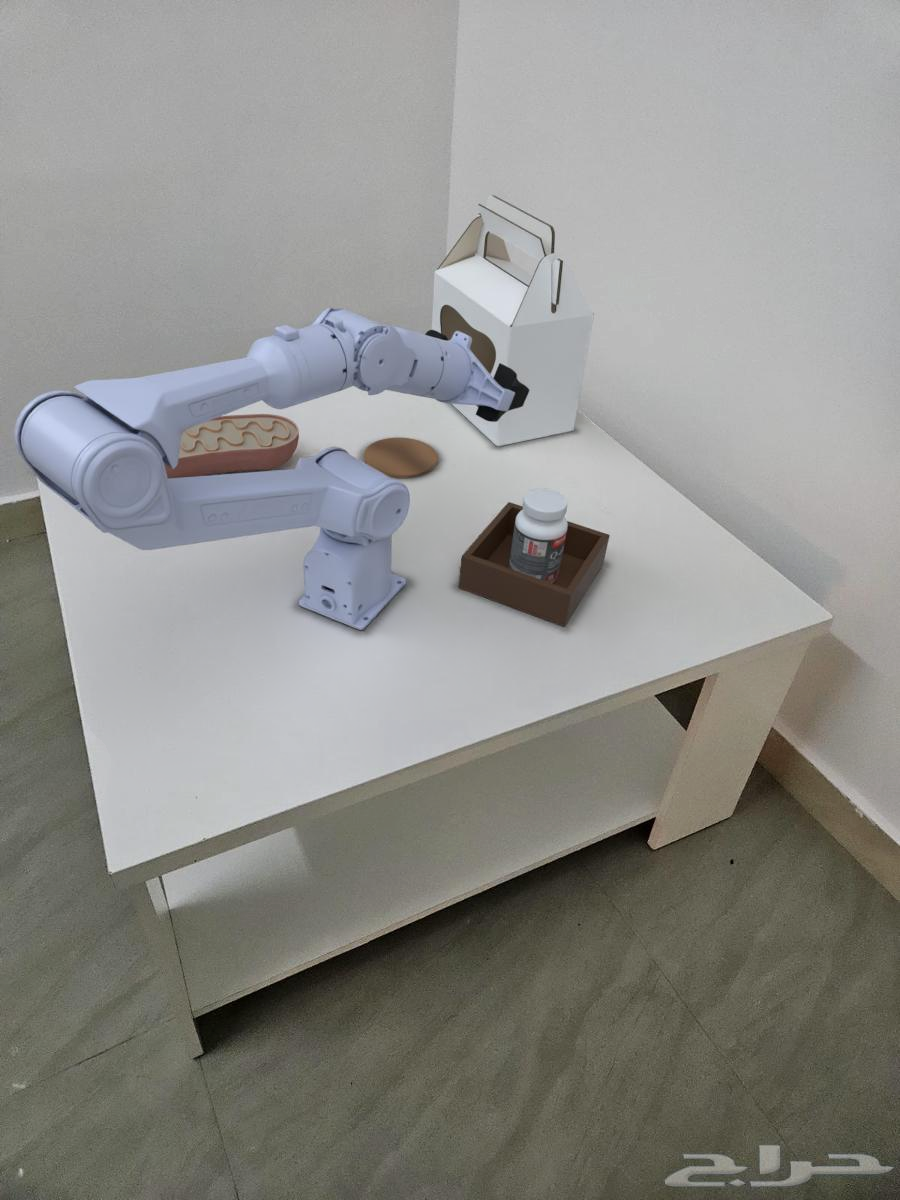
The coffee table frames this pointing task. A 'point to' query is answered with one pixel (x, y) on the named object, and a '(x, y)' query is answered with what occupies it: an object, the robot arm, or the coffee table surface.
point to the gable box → (517, 318)
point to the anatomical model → (235, 445)
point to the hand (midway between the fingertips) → (497, 383)
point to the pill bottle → (540, 534)
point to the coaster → (401, 457)
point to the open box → (551, 602)
